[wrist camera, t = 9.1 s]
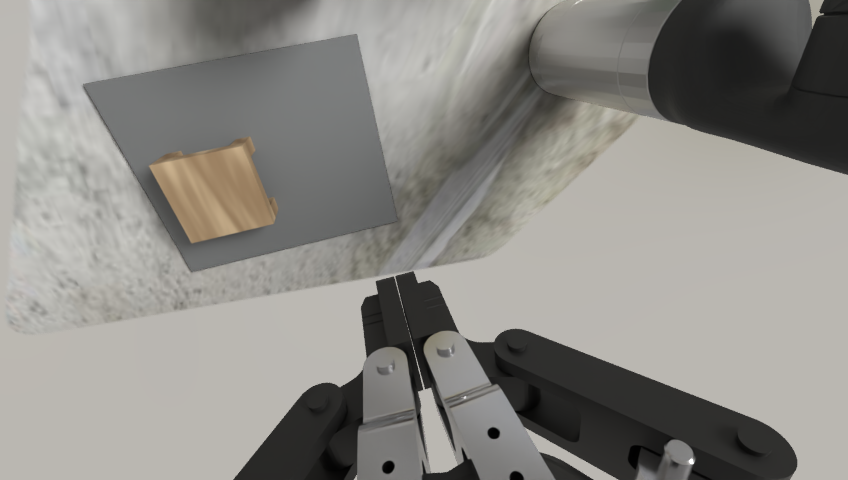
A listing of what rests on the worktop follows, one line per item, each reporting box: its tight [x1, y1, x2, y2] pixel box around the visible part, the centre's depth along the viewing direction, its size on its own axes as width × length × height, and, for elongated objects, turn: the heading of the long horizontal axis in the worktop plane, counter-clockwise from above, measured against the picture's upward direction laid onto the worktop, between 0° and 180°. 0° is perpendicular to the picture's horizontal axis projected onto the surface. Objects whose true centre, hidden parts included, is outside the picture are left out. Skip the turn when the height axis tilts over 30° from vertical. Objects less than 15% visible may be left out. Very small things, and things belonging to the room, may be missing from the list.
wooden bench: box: [149, 137, 278, 243], centre depth 37 cm, size 4×8×8 cm
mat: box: [83, 34, 397, 272], centre depth 38 cm, size 24×20×1 cm
